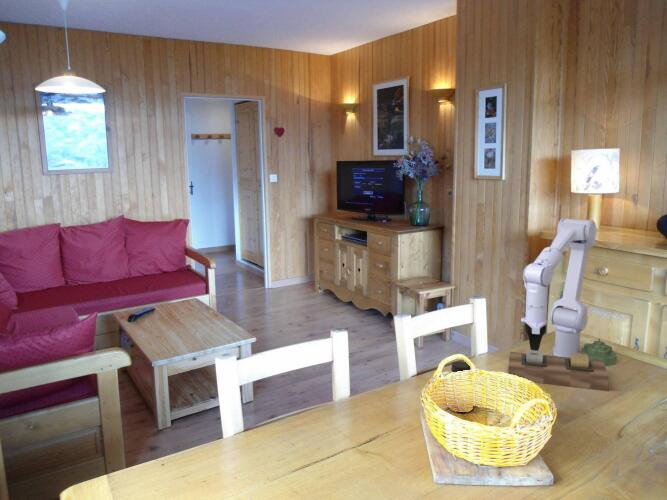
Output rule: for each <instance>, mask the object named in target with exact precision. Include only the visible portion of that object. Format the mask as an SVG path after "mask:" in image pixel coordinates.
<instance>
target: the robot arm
mask: <svg viewBox="0 0 667 500" xmlns="http://www.w3.org/2000/svg"><path fill="white" fill-rule="evenodd" d="M556 230H557V231H556V232H557V234H556V236H555V238H554V239H553V241H552V242H551V244H550V246H548V247H544V248H543V250H541V252H540V254H539V255H538V256H537V257H536V259H535V260H534V261H533V262H532V263H528V264H527V265H526V266H525V267H524V269H523V273H522V280H523V282H524V289H525V291H526V293H525V294H526V295H525V316H524V317H521V318H520V321H521V322H523V323H525V327H524V329H525V331H526V332H525V333H526V334H527V336H528V337H527V338H528V340H529V349H531V350H536V351H538V350H540V347H541V343H542V342H541V341H542V339H543V337H544V335H545V333H546V332H547V326H546V325H547V324H548V320H547V317H548V316H547V315H548V314H547V312H548V310H547V309H548V294H549V293H548V291H549V285H550V284H551V282H552V280H553V278H554V277H553V276H554V275H555V269H556V268H557V267H558V265H559V263H560V262H561V261H562V259H563V257H562V253H563V252H564V251H565V249H566V248H567V247H568V246H569V249H570V255H569V259H568V264H567V265H568V266H567V272H566V277H565V281H564V288H563V292H562V293H563V294H562V297H561V298H559V299H557V300H556V301H554V303H553V306H552V309H551V310H550V313H549V321H550V323H551V324H552V325H553V329H555V332H554V333H555V335H554V338H555V339H554V346H552V354H553V355H552V356H558V357H569V358H570V353H580V354H581V351H580V343H581V342H580V341H581V340H580V339H581V332H582V331H584V330H585V329H586V327H587V324H588V320H589V319H588V307H587V306H586V305H585V303H583V301H581V293H582V290H583V289H582V288H583V283H584V277H585V271H586V265H587V260H588V254H589V249H591V248H594V246H595V242H596V237H597V231H598V229H597V225H596V222H595V221H594V220H593V219H578V218H567V217H562V218H561V219H560V220H559V221H558V224H557V229H556Z"/></svg>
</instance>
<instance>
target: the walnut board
mask: <svg viewBox="0 0 667 500" xmlns="http://www.w3.org/2000/svg"><path fill="white" fill-rule="evenodd" d="M569 365H570V358H569V357H558V356H553V355H546V354H543V364H537V363H527V362H526V352H525V353H524V352H516V351H509V358H508V365H507V366H508V367H507V369H508V370H507V374H508V373H509V374H513V375H517V376H519V377H523V378H526V379H528V380H531V381H533V382H535V383H534V384H541V385H551V386H558V387H559V386H561V387H569V388H578V389H585V390H596V391H603V392H608V391H609V379H610V377H609V374H608V371H607V369H606V366H605V365H604V362H603V361H600V360H589V364H588V369H586V368H576V367H570V366H569ZM533 382H532V383H533Z"/></svg>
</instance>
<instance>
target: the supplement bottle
mask: <svg viewBox="0 0 667 500" xmlns="http://www.w3.org/2000/svg"><path fill="white" fill-rule="evenodd" d="M466 362H467V361H464V360H458V361H453V362H452V363H451V368H450V371H451V372H457V371H463V370H470V369H471V370H472V368H470V366H469V365H468V364H467V363H466Z"/></svg>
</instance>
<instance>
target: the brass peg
mask: <svg viewBox="0 0 667 500" xmlns="http://www.w3.org/2000/svg"><path fill="white" fill-rule="evenodd" d="M588 364H589V359H588V355H587V354H581V352H580V353H570V365H569V366H570V367H576V368H586V369H588Z"/></svg>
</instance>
